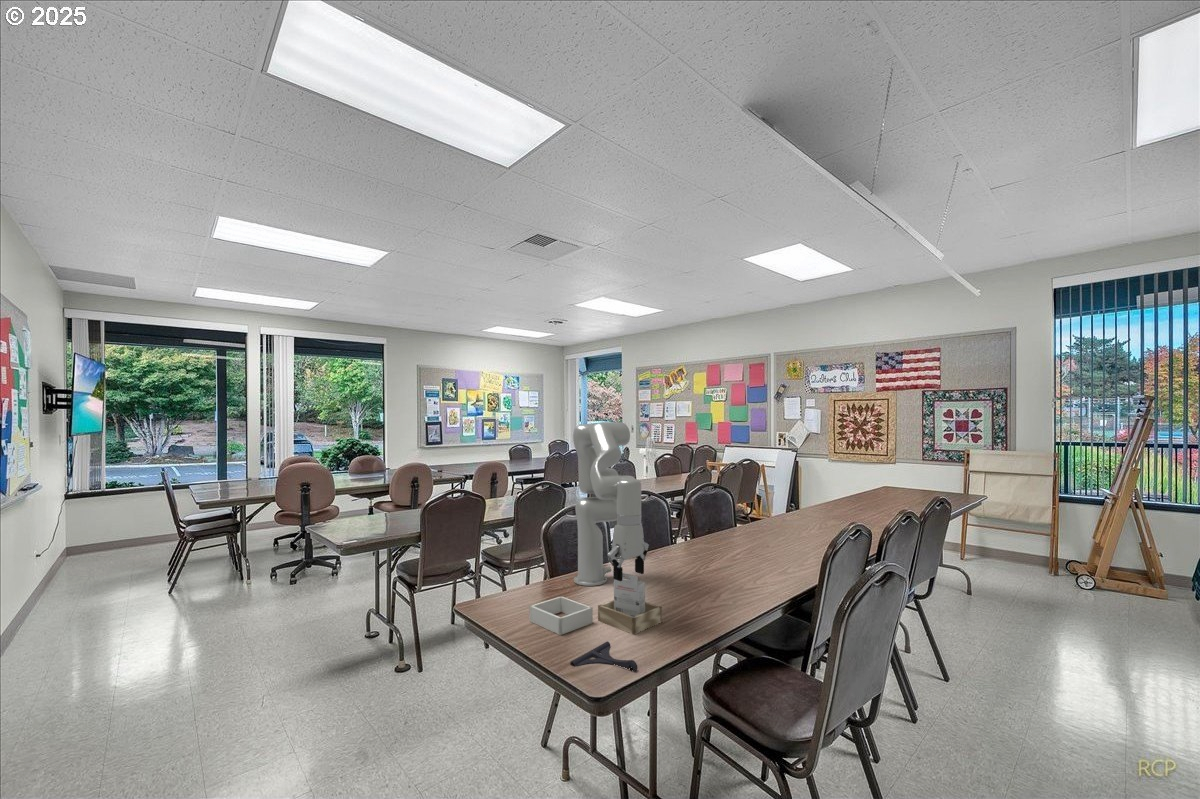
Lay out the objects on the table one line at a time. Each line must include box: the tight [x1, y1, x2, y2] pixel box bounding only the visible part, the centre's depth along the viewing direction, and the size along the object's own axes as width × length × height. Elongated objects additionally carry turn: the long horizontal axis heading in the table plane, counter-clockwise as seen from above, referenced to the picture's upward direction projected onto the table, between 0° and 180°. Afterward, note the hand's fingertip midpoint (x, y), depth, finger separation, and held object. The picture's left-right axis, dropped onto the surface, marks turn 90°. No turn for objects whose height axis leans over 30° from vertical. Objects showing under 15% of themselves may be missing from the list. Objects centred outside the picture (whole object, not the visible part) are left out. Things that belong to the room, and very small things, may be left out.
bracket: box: [569, 641, 638, 672], centre depth 127 cm, size 14×15×3 cm
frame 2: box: [597, 599, 663, 635], centre depth 153 cm, size 13×15×4 cm
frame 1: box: [528, 595, 594, 636], centre depth 153 cm, size 13×15×4 cm
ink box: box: [613, 572, 646, 617], centre depth 154 cm, size 9×5×15 cm, turn 59°
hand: (628, 576), depth 154 cm, fingers open, 9 cm apart
